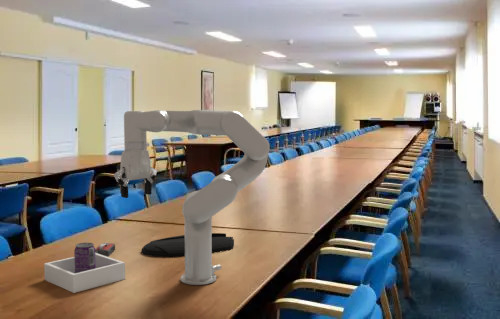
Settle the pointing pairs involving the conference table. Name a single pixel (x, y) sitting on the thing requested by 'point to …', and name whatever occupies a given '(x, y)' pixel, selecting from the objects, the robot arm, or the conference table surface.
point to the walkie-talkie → (105, 249)
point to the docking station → (183, 245)
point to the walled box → (84, 273)
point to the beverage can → (84, 257)
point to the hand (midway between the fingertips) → (136, 195)
